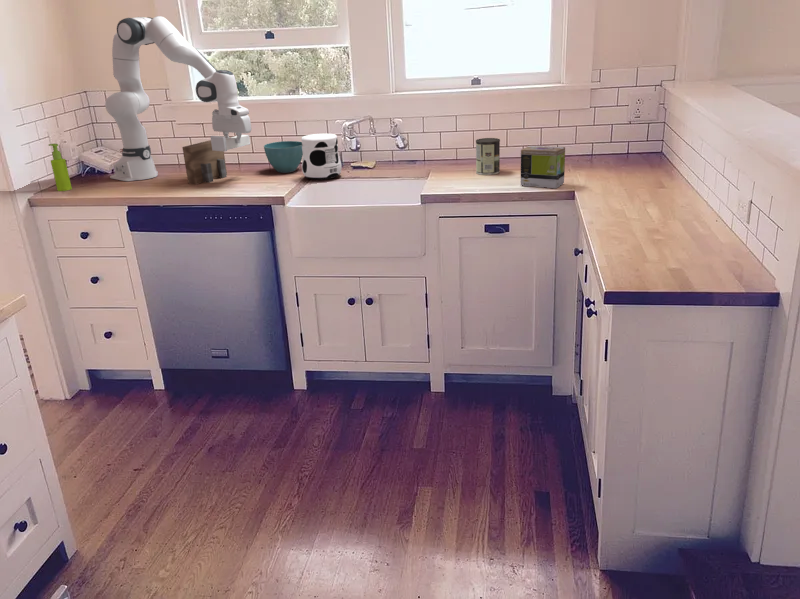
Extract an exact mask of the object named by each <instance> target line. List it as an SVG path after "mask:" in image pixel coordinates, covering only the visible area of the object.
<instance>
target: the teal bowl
mask: <svg viewBox="0 0 800 599" xmlns="http://www.w3.org/2000/svg"><path fill="white" fill-rule="evenodd" d="M263 149H264V154H265V156H266V159H267V160H268V163H269V164H270V165H271V167H272V168H273V169H274V170H275V171H276V172H277V173H281V174H285V173H286V174H287V173H292V172H295V171H296V170H297V169H298V167H299V166H300V163H301V162H302V160H303V151H302V141H297V140H283V141H282V140H281V141H275V142H269V143H266V144H264V145H263Z"/></svg>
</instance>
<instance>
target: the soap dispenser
mask: <svg viewBox="0 0 800 599" xmlns="http://www.w3.org/2000/svg"><path fill="white" fill-rule="evenodd" d="M48 146H51V147H52V150H53V151H52V152H51V154H52V159H51V160H50V164H51V169H52V173H53V176H54V180H55V186H56V190H57V191H58V192H66V191H70V190H72V189H73V188H72V184H71V179H70V175H69V170H68V166H67V160H66V158H63V156H62V153H61V151H60V150H59V149H58V146H59V143H49V144H48Z"/></svg>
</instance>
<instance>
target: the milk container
mask: <svg viewBox="0 0 800 599" xmlns="http://www.w3.org/2000/svg"><path fill="white" fill-rule="evenodd" d="M301 142H302V151H303V156H302V161H301V162H302V164H301V169H302V170H301V171H302V174H303V176H304V177H305V178H306V179H309V180H317V181H318V180H330V179H333V178H336V177H338V176H340V175H341V174H342V161H341V158H340V155H339V154H340V153H339V144H338V135H337V134H334V133H314V134H313V133H312V134H307V135H304V136H301Z"/></svg>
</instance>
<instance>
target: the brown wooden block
mask: <svg viewBox="0 0 800 599" xmlns="http://www.w3.org/2000/svg"><path fill="white" fill-rule="evenodd" d="M181 148H182V154H183V159H184V165H185V166H184V167H185V171H186V172H185V173H186V178H187V183H188V184H192V185H198V184H201V183H212V182H214V179H217V178H220V179H224V178H227V177H228V176H227V174H228V172H227V166H226V164H227V163H226V158H225V151H214V150H212V144H211V139H210V140H206V141H202V142H197V143H194V144H189V145H186V146H181Z"/></svg>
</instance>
